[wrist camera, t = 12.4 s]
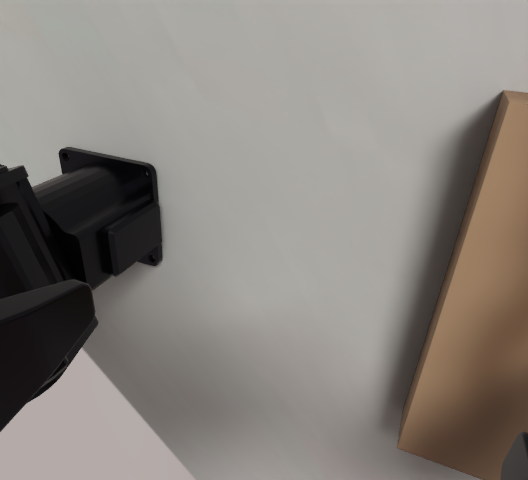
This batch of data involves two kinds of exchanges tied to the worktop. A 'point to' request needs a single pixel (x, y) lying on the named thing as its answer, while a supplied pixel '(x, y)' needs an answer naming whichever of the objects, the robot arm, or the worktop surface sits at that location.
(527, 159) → the walnut base board
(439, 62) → the worktop surface
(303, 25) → the worktop surface
